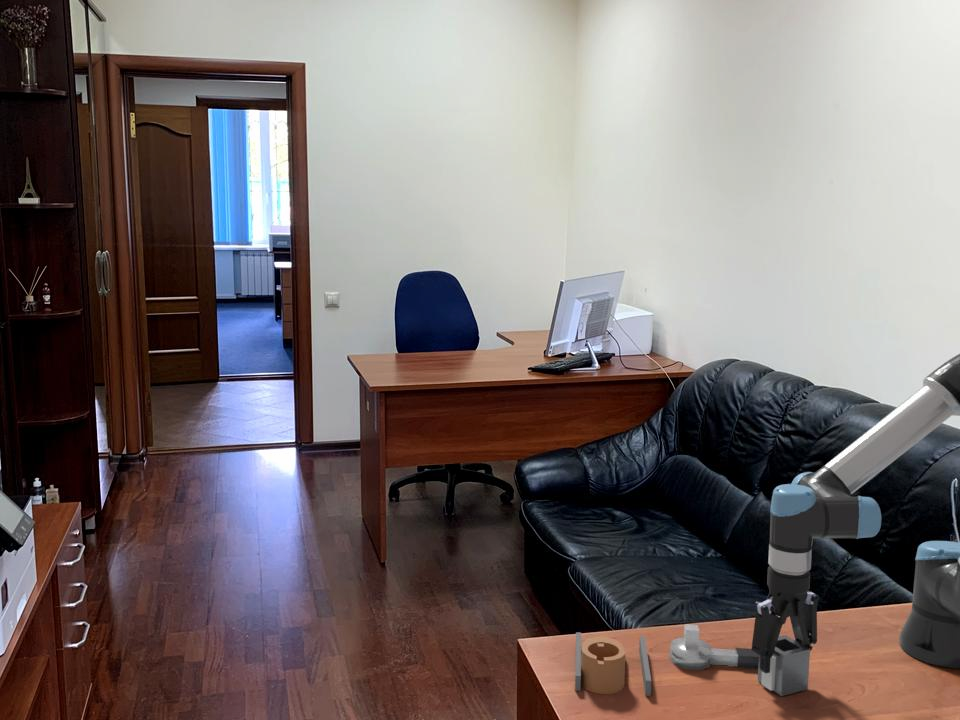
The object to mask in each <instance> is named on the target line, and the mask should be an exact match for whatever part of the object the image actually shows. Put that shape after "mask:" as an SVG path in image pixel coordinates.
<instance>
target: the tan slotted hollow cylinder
mask: <svg viewBox="0 0 960 720" xmlns="http://www.w3.org/2000/svg"><path fill="white" fill-rule="evenodd" d="M626 652H627V651H626V649H625V647H624V645H623V644H622V643H621V642H620V641H619V640H617V639H615V638H611V637H606V636H594V637H589V638H587V639H585V640H584V641H582V642H581V686H582V687H583V688H584V689H585V690H587V691H590V692H592V693H594V694H600V695H611V694H616V693H619V692H621V691H622V690H623V688H624V687H625V674H626V673H625V672H626Z"/></svg>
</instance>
